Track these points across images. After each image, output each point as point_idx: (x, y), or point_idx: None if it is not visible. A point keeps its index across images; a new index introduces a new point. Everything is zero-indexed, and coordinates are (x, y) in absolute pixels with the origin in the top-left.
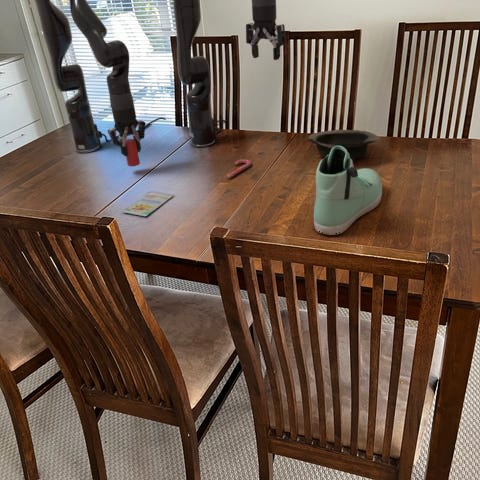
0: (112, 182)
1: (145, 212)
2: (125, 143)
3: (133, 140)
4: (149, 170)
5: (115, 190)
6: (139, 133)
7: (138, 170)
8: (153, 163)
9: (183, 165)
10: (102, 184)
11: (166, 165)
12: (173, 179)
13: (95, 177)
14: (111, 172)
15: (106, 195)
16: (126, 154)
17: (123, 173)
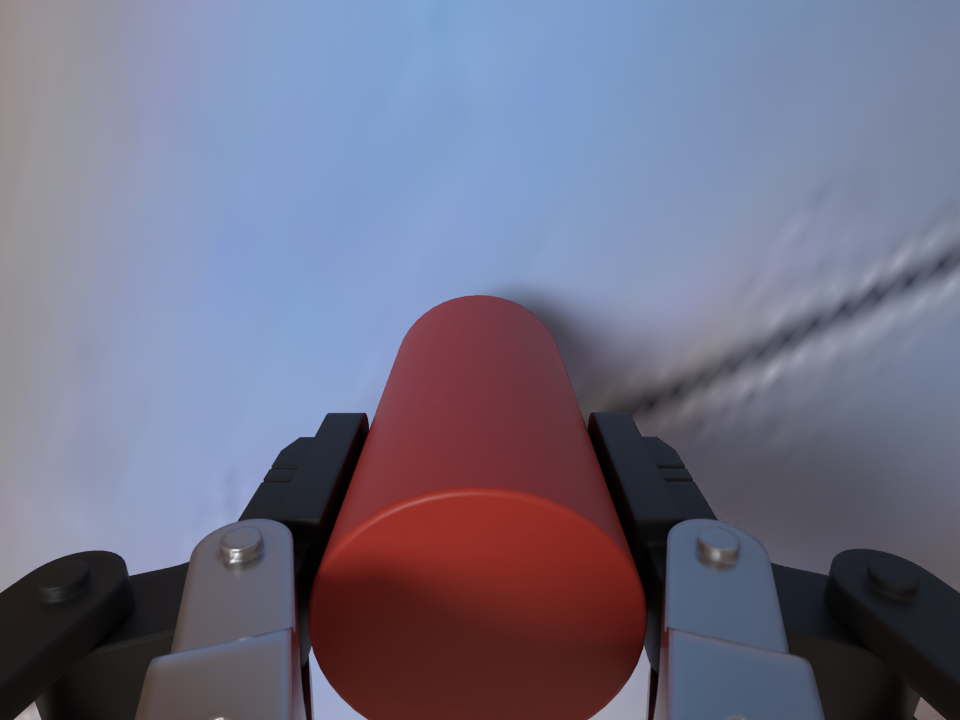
0: (170, 365)
1: None
2: (312, 707)
3: (570, 676)
4: (615, 398)
5: (132, 542)
6: (931, 672)
7: (538, 302)
8: (780, 259)
9: (899, 549)
10: (60, 327)
11: (814, 425)
12: (618, 703)
13: (36, 54)
14: (268, 75)
15: (30, 568)
16: None
17: (369, 238)
